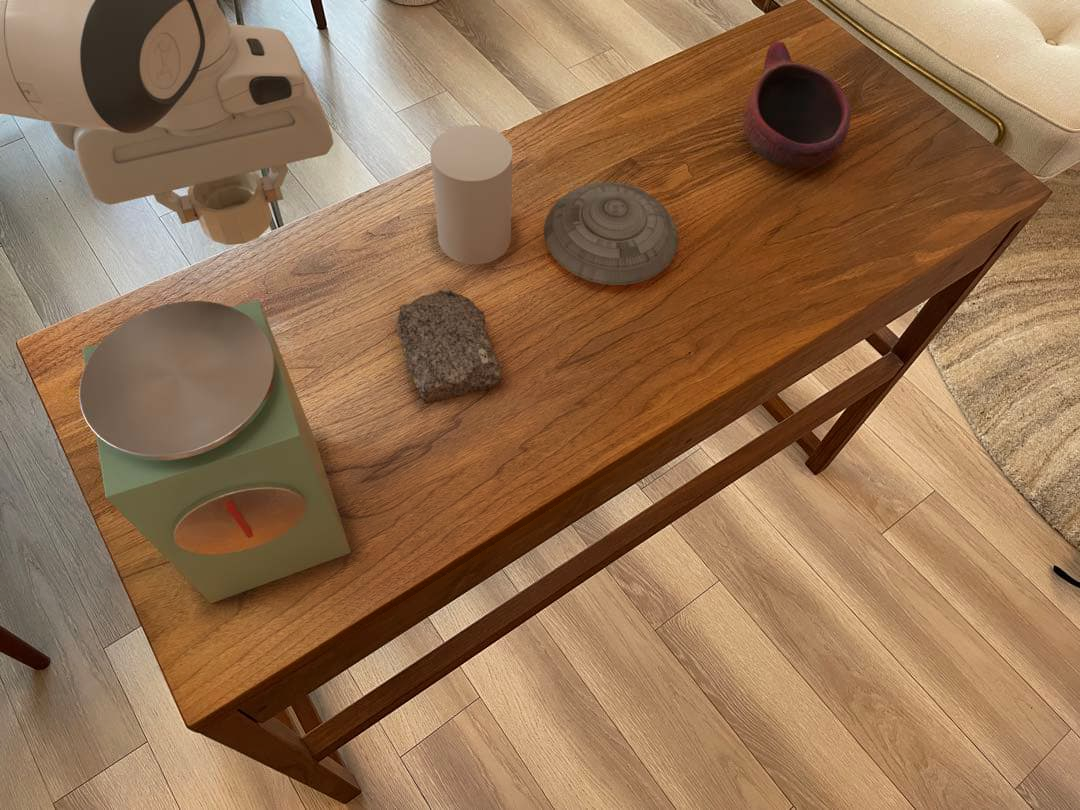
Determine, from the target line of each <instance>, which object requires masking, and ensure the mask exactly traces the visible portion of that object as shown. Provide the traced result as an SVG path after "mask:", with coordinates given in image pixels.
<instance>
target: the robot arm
mask: <svg viewBox="0 0 1080 810" xmlns="http://www.w3.org/2000/svg"><path fill="white" fill-rule="evenodd" d="M0 114H2V115H7V116H13V117H18V118H23V119H24V118H25V119H30V120H31V119H32V120H35V121H41V122H47V123H50V126H51V128H52V130H53V131H54V133H55V135H56V137H57V138H58V139H59V141H60V142H61V144H63V146H65V147H66V148H67V149H69V150H72V151H74V152H75V154H76V158H77V163H78V166H79V168H80V171H81V174H82V176H83V178H84V181H85V184H86V186H87V188H88V190H89V192H90V194H91V196H92V197H93V199H95V200H96V201H99V202H101V203H103V204H106V205H109V206H110V205H117V204H120V203H125V202H130V201H132V200H138V199H142V198H146V197H150V196H151V197H152V196H153V197H154V198H155V201H156V202H157V203H159V204H160V205H162V206H164V208H167V209H169V210H171V211H172V212H174V213H176V215H177V216H178V219H179V221H180V223H181V225H184V224H189V223H192V222H196V221H199V220H198V218H197V215H196V213H195V211H194V208H193V206H192V204H191V202H190V198H189V195H188V194H186V195H179V194H178V193H176V192H175V191H177V190H179V189H185V188H189V186H194V185H198V184H202V183H206V182H211V181H215V180H219V179H223V178H228V177H232V176H236V175H241V174H245V173H249V172H253V171H255V172H257V171H261V170H266V169H269V171H268V174H267V175H265V176H262V177H261V176H260V180H261V183H262V186H263V190H264V193H265V196H266V199H267V202H268V204H269V203H274V202H278V201H282V200H284V195H283V192H282V190H281V187H282V185H283V183H284V181H285V179H286V177H287V174H288V172H289V169H288V165H287V164H291V163H296V162H300V161H304V160H309V159H314V158H317V157H322V156H325V155H327V154H328V153H329V152H330V150H331V149H332V147H333V145H334V137H333V134H332V131H331V127H330V124H329V121H328V119H327V117H326V114H325V111H324V109H323V106H322V103H321V101H320V99H319V97H318V94H317V92H316V89H315V88H314V86H313V83H312V82H311V79H310V77H309V75H308V73H307V72H306V71H305V70H304V68H303V67H302V66H301V62H300V59H299V57H298V55H297V53H296V50H295V48H294V46H293V44H292V43H291V41H290V40H289V38H288V36H286V34H285V32H283V30H280V29H277V28H273V27H272V28H271V27H259V26H252V25H251V26H250V25H242V24H235V23H229V21H228V19H227V17H226V15H225V14H224V13H223V11H222V9H221V8H220V6H219V4H218V1H217V0H0Z"/></svg>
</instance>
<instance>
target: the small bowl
mask: <svg viewBox="0 0 1080 810" xmlns="http://www.w3.org/2000/svg"><path fill="white" fill-rule="evenodd" d="M260 178H261V176H260V175H259V173H257V171H253V172H249V173H245V174H241V175H236V176H232V177H228V178H223V179H219V180H215V181H211V182H206V183H202V184H198V185H194V186H189V187H188V189H187V195H189V198H190V202H191V204H192V206H193V208H194V211H195V213H196V215H197V218H198V220H197V221H198V222H199V224H200V227H201V229H202V231H203V234H204V235H205V236H206V237H208V238H209V239H210V240H211V241H213V242H215V243H219V244H222V245H227V246H233V245H243V244H247V243H249V242H252V241H254V240H256V239H259V238H260V237H261V236H262V235H263V234H264V233H265V232H266V231H267V230H268V229H269V228H270V225H271V222H272V219H273V214H272V211H271V208H270V205H269V203H268V202H267V199H266V196H265V193H264V190H263V186H262V183H261V180H260Z"/></svg>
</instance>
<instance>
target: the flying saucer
mask: <svg viewBox="0 0 1080 810" xmlns="http://www.w3.org/2000/svg"><path fill="white" fill-rule="evenodd" d="M678 232H679V231H678V228H677V225H676V222H675V221H674V218H673V217H672V215H671V213H670V212H669V211H668V209H667V208H666V207H665V206H664V205H663V203H661V202H660V201H659V200H658V199H657V198H655V197H654V196H653V195H652V194H650V193H648V192H647V191H644V190H642V189H640V188H638V187H636V186H633V185H630V184H626V183H621V182H612V181H605V182H603V181H602V182H594V183H589V184H585V185H583V186H580V187H578V188H575V189H573V190H571V191H569V192H567V193H566V194H565V195H563V196H562V197H561V198H559V199H558V200H557V201H556V202H555V203H554V205H552V207H551V209H549V211H548V213H547V215H546V217H545V220H544V226H543V236H544V241H545V244H546V246H547V249H548V251H549V252H550V254H551V255H552V257H553V258H554V259H555V261H556V262H557V263H558V264H559V265H560V266H562V267H563V268H564V269H565V270H567V271H568V272H570V273H571V274H573V275H575V276H577V277H579V278H580V279H584V280H586V281H589V282H591V283H595V284H600V285H608V286H626V285H627V286H628V285H633V284H637V283H642V282H644V281H647V280H649V279H651V278H654V277H655V276H657V275H658V274H661V273H662V272H663V271H664V270H665V269H666V268H667V267H668V266H669V265H670V264H671V262H672V261H673V259H674V258H675V256H676V254H677V252H678V251H677V250H678V246H679V233H678Z"/></svg>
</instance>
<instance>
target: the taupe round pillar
mask: <svg viewBox="0 0 1080 810" xmlns="http://www.w3.org/2000/svg"><path fill="white" fill-rule="evenodd" d="M513 152H514V151H513V147H512V145H511V143H510V141H509V140H508V138H507V137H505V136H504V134H502V133H501V132H499V131H498V130H495V129H494V128H491V127H488V126H484V125H479V124H464V125H458V126H455V127H451V128H448V129H447V130H445V131H443V132H442V133H440V134H439V135H438V136H437V137H436V138H435V139H434V141H433V142H432V144H431V147H430V164H431V175H432V186H433V198H434V207H435V217H436V218H435V221H436V229H437V230H436V231H437V241H438V245H439V248H440V249H441V251H442V252H443V253H444V254H445V255H446V256H447V257H449V259H452V260H453V261H455V262H457V263H461V264H464V265H471V266H473V265H474V266H475V265H477V266H478V265H484V264H488V263H491V262H494V261H496V260H497V259H499V258H500V257H502V256H503V255H504V254H505V253H506V252H507V250H508V249H509V247H510V244H511V241H512V203H513V202H512V199H513V197H512V195H513Z"/></svg>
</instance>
